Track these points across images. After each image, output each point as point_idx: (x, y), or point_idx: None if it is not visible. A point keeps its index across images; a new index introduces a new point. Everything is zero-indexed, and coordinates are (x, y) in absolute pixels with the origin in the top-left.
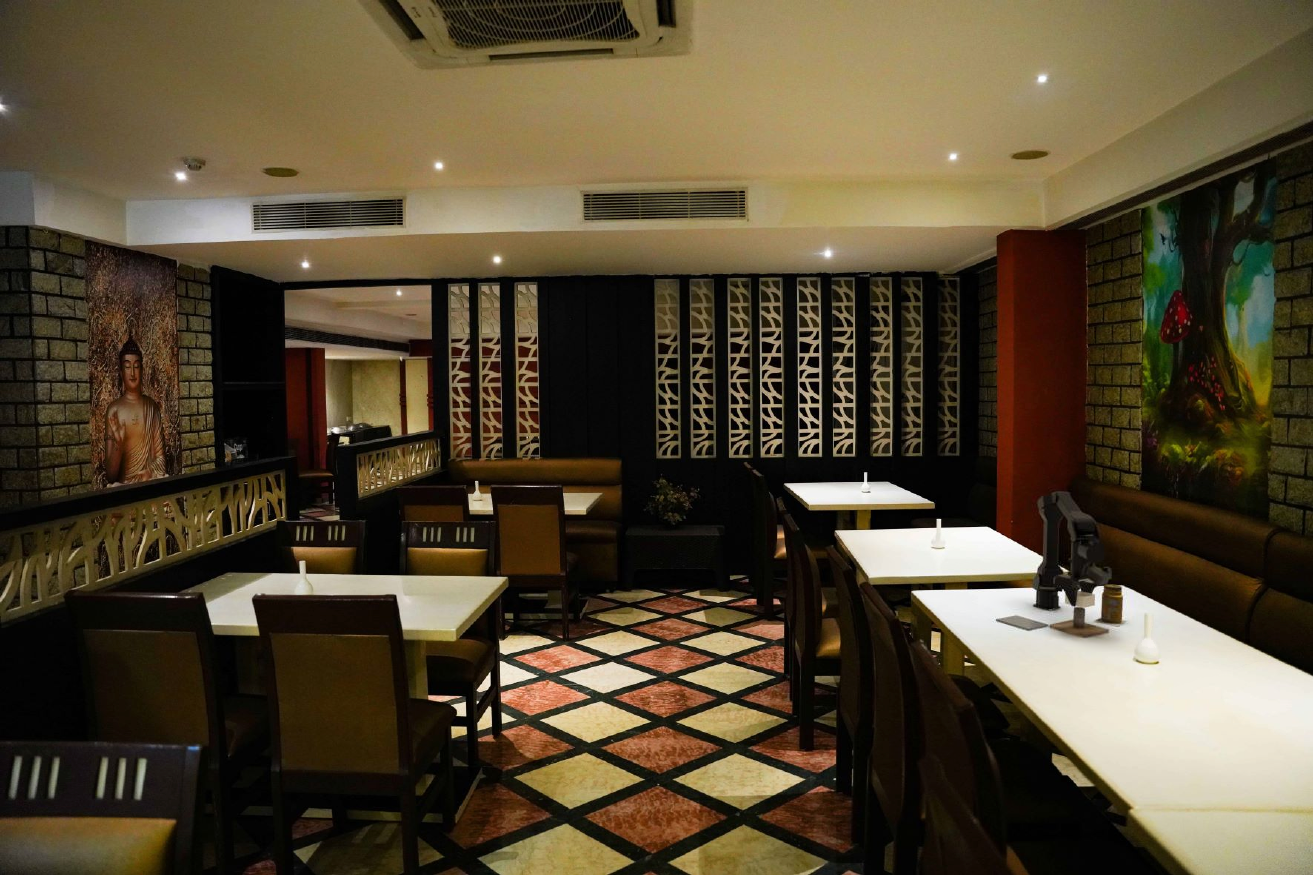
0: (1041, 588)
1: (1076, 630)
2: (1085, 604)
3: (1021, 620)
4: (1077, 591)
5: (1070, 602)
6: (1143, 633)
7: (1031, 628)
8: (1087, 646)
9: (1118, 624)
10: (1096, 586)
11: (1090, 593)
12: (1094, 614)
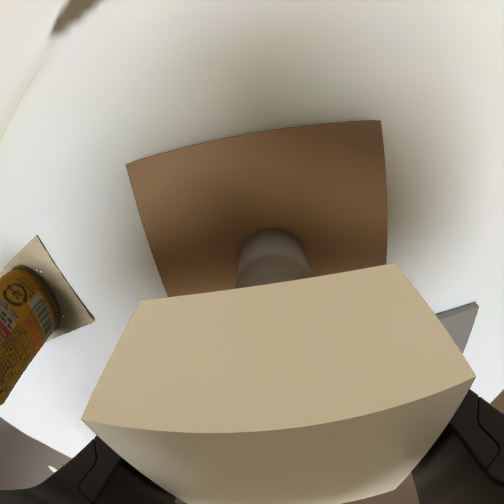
0: (177, 498)
1: (352, 206)
2: (349, 296)
3: None
4: (497, 470)
5: None
6: (9, 122)
7: (464, 310)
8: (458, 35)
9: (27, 254)
10: (9, 498)
11: (124, 457)
12: (57, 364)
